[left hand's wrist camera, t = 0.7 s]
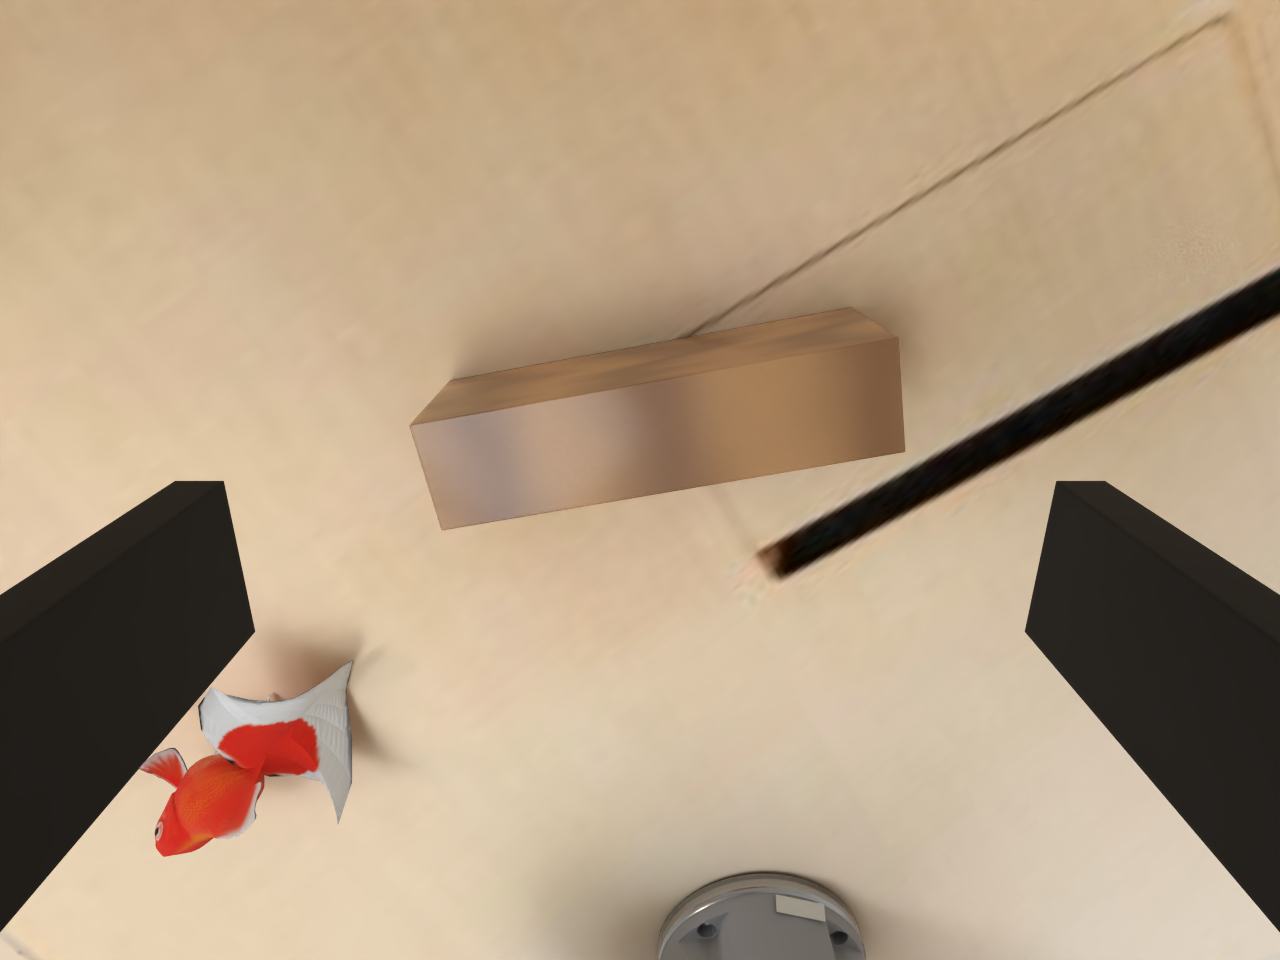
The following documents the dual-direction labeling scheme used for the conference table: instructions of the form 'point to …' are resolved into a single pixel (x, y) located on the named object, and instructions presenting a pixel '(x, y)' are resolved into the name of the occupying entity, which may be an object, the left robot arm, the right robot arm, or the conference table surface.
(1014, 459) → the conference table surface
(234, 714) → the fish
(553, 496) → the bar
